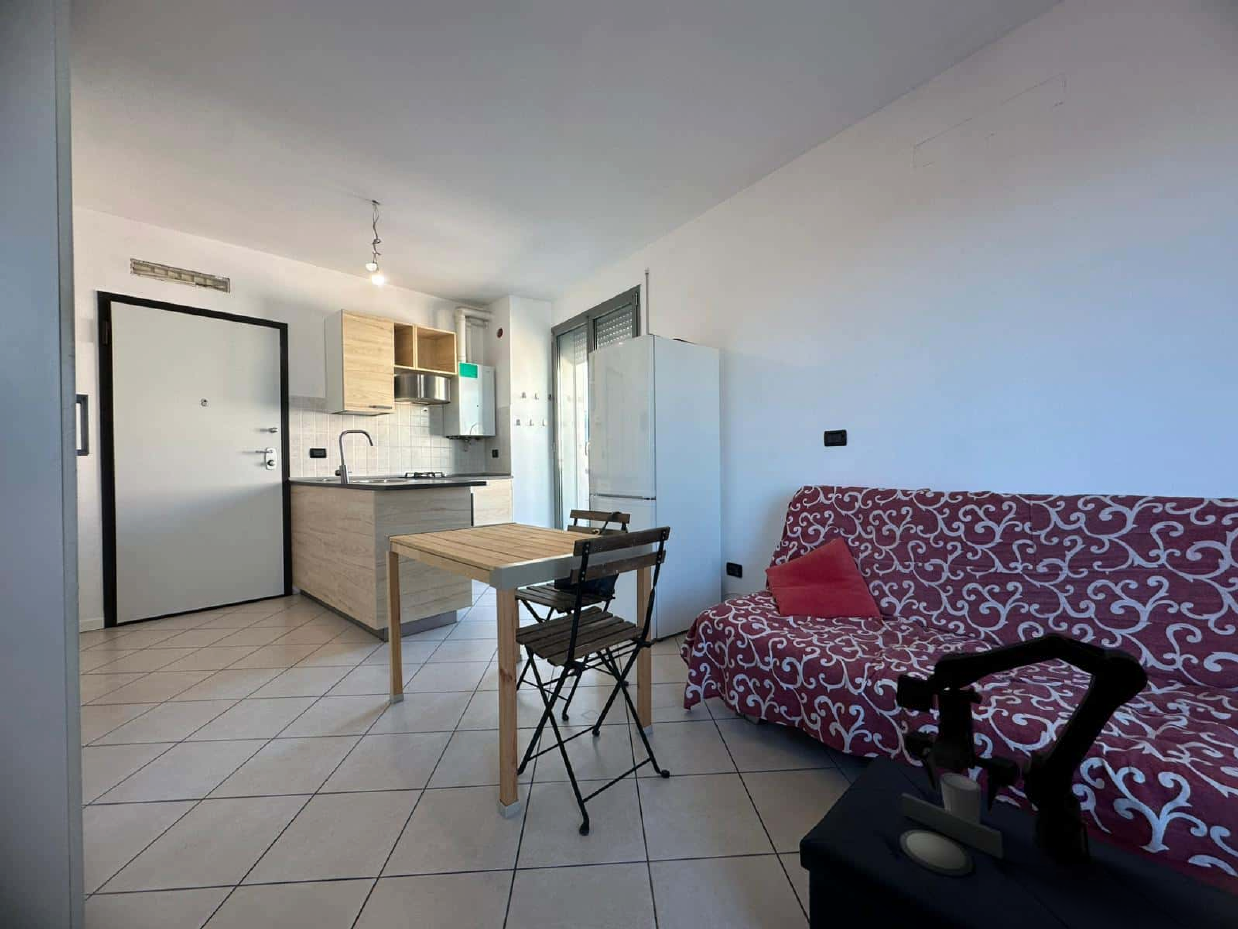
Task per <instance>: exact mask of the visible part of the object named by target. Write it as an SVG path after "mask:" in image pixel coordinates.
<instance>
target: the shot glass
mask: <svg viewBox="0 0 1238 929" xmlns="http://www.w3.org/2000/svg"><path fill="white" fill-rule="evenodd" d="M939 783H940V786H941V792H942V799H943V804H944V805H943V806H944V809H945V810H948V811H950V812H952V813H955V814H957V815H960V816H962V817H965V818H967V819H970V820H972V821H974V822H977V823H979V824H981V801H982V800H981V799H982V798H981V797H982V794H981V793H982V787H981V785H980V784H979V782H976V780H974V779H972V778H970V777H967V776H965V775H962V774H957V773H954V772H953V773H952V772H949V773H948V772H947V773H943V774H941V775H940V776H939Z"/></svg>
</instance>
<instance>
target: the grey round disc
mask: <svg viewBox="0 0 1238 929" xmlns="http://www.w3.org/2000/svg"><path fill="white" fill-rule="evenodd" d="M899 840H900V841H899V842H900V847H901V848H902V850H903V852H904V853H905V854H906V855H907V857H909V858H910V859H911V860H912V861H913V862H914V863H916V864H917V865H919V866H921V867H923V868H924V869H927V870H929V871H932V872H934V873H937V874H940V873H941V874H940V875H944V876H949V877H962V876H966V875H968V874H970V873H971V872H972V871H973V869H974V862H973V859H972V857H971V855H970V854H969V853H968V851H967V850H966V849H965V848H964V847H963V846H961V845H960V844H959V843H957V842H956V841H954V840H953V839H950V838H948V837H946V836H944V835H942V834H939V833H936V832H932V831H929V830H920V829H914V830H913V829H912V830H908V831H905V832H903V833H902V834H901V836H900V839H899Z"/></svg>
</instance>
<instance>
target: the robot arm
mask: <svg viewBox="0 0 1238 929" xmlns="http://www.w3.org/2000/svg"><path fill="white" fill-rule="evenodd" d="M1056 659H1057V660H1060V661H1062V662H1065V663H1067V664H1069V665H1071V666H1074V667H1075V668H1077V669H1079V670H1081V671H1083V672H1085V673H1086V674H1087V673H1088V674H1090V679H1089V683H1088V687H1087V689H1086V692H1085V694H1084V695H1083V697H1082V698H1081V699H1080V701H1079V703H1078V705H1077V706H1076V708H1075V709H1074V710H1073V712H1072V714H1071V715H1070V717H1069V719H1068V720H1067V722H1066V723H1065V725H1064V727H1062V729H1061V731H1060V732H1059V734H1058V735H1057V737H1056V739H1055V740H1054V741H1053V743H1052V745H1051V746H1050V748H1049V750H1046V752H1044V753H1042V754H1039V753H1038V752H1037V751H1036V750H1035V749H1032V750H1031V752H1030V756H1029V758H1028V760H1027V761H1025V762H1024V763H1022V767H1021V768H1020V765H1019V764H1018V763H1017V762H1016V760H1013V759H1011V758H1007V757H1003V756H1000V755H998V754H997V755H996V754H993V755H992V756H991V758H986V757H983V756H980V755H978V754H977V753H976V752H977V744H975V733H974V731H975V730H976V728H975V724H974V723H973V708H972V704H976V705H981V704H982V701H983V696H982V695H981V694H980V693H979V692H977V691H976V690H975V688H974V687H973V686H970V687H969V688H968V689H963V688H965V687H967V686H969V685H971V684H972V685H973V684H974V683H976V682H978V681H980V680H981V679H983V678H985V677H988V676H989V675H992V674H997V673H1000V672H1006V671H1009V670H1014V669H1018V668H1021V667H1027V666H1031V665H1034V664H1039V663H1044V662H1048V661H1053V660H1056ZM1148 682H1149V677H1148V674H1147V673H1146V672H1145V670H1144V667H1143V666H1142V664H1141V663H1140V661H1139V660H1138V659H1137V658H1136V657H1135V656H1134V655H1133V654H1131V653H1129V652H1128V651H1124V650H1122V649H1116V648H1115V649H1114V648H1111V649H1110V648H1109V649H1108V648H1107V649H1106V648H1103V647H1101V646H1098V645H1095V644H1092V643H1089V642H1085V641H1081V640H1078V639H1075V638H1071V637H1069V636H1066V635H1064V634H1062V633H1059V632H1055V631H1053V632H1047V633H1045V634H1044V635H1042V636H1037V637H1034V638H1029V639H1026V640H1022V641H1021V640H1020V641H1018V642H1015V643H1011V644H1006V645H1003V646H998V647H995V648H990V649H986V650H983V651H977V652H976V651H974V652H972V651H970V652H969V651H965V652H964V651H960V652H951V653H950V652H949V653H945V654H942V655H941V656H940V657H939V658H938V660H937V662H936V663H935V665H934V666H933V673H932V674H930V675H929V676H928V677H927V679H926V678H925V679H924V678H918V677H914V676H911V675H910V676H909V675H907V674H903V673H900V674H899V675H898V676H897V684H896V692H895V702H896V705H897V707H898V708H903V709H907V710H911V711H915V712H919V713H924V714H927V715H928V714H930V713H931V710H933V711H935V710H936V706H938V708H937V709H938V719H939V724H938V725H937V735H936V737H935V739H934V737H933V736H932V734H930V733H926V732H923V731H919V730H917V729H913V730H910V732H909V733H908V734H907V735H905V736H904V737H903V749H904V750H905V751H907V752H909V753H910V754H911V755H912V757H914V758H916V759H917V760H918V761H919V762H920V763H921V765H922V766H923V768H924V770H925V773H926V775H927V777H928V779H929V781H930V784H931V787H932V788H933V791H938V789H939V787H938V786H939V779H938V778H939V777H938V768H940V769H942V768H943V769H946V770H948V771H951V773H952V772H953V774H959V775H961V774H962V773H963V772H964V770H968V769H970V770H972V771H973V770H975V769H976V767H978V768H981V769H983V770H986V771H987V773H986V774H987V776H988V777H987V779H986V785H987V799H986V803H987V804H986V805H987V811H988V812H990V813H991V812H992V810H993V808H994V805H995V802H996V799H997V796H998V794H999V790H1000V789H1001V788H1003V789H1005V788H1008V787H1015V786H1016V785H1017V783H1018V781H1019V780H1020V779H1021V780H1022V781H1023V783H1022V784H1023V785H1022V787H1023V793H1024V795H1025V798H1026V799H1027V800H1028V801H1029V803H1030V804H1032V805H1033V806H1034V807H1035V808H1037V810H1035V813H1036V814H1035V815H1036V816H1035V817H1036V819H1035V820H1034V827H1035V828H1034V830H1035V836H1032V837H1031V839H1032V841H1033V842H1034V843H1035V844H1036V845H1037V846H1038V847H1039V848H1041V849H1042V851H1044V852H1045V854H1047V855H1048V856H1050V857H1051V859H1053V860H1054V861H1055V862H1056V863H1058V864H1059V865H1062V866H1080V867H1081V866H1082V867H1094V868H1095V867H1099V863H1098V861H1096V860H1095V859H1094V858H1093V857H1091V854H1090V844H1089V832H1088V823H1087V822H1085V820H1084V817H1083V812H1082V811H1083V810H1082V803H1081V800H1080V799H1079V798H1078V797H1077V796H1075V794H1074V793H1073V792H1071V788H1072V783H1073V778H1074V774H1075V772H1076V770H1077V769H1078V767H1079V766H1080V764H1081V763H1082V761H1083V759H1084V758H1085V756H1086V755H1087V753H1088V752H1089V751H1090V749H1091V747H1092V746H1093V744H1094V743H1095V742H1096V740H1097V738H1098V737H1099V735H1100V734H1101V732H1102V731H1103V730H1104V728H1105V726H1106V725H1107V723H1108V722H1109V721H1110V718H1112V716H1113V714H1114V713H1115V711H1116V710H1118V709H1119V708H1120V707H1123V706H1124V705H1125V704H1127V703H1128V702H1130V701H1132V700H1133V699H1134V698H1135V697H1136V696H1137V695H1138V694H1140V692H1142V691H1143V690H1144V689H1145V688H1146V687H1147V684H1148ZM947 688H948V689H947ZM936 696H937V697H936ZM936 698H937V699H936ZM937 767H938V768H937Z"/></svg>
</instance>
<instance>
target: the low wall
mask: <svg viewBox="0 0 1238 929" xmlns="http://www.w3.org/2000/svg"><path fill="white" fill-rule="evenodd" d="M901 806H902V807H901V808H902V816H903V815H906V816H908V817H910V818H912V819H914V820H916V821H919V822H921V823H923V824H924V825H923V824H922V825H923V826H925V825H928V826H929V827H928V826H927V827H928V828H930V827H932V828H935V829H936V830H935V831H937V830H938V831H937V832H939V833H941V832H942V833H941V834H943V833H944V834H943V835H946V836H949V837H950V838H952V839H955V840H957V841H959V842H962V843H964V844H965V845H969V847H970V846H971V847H972V848H975V849H977V850H980V851H982V852H984V853H986V854H988V855H991V856H993V857H995V858H997V859H999V860H1002V859H1003V857H1004V853H1003V852H1004V850H1003V842H1002V832H1001V831H999V830H997V829H993V828H991V827H989V826H986V825H985V824H981V823H980V824H979V823H977V822H974V821H972V820H970V819H967V818H965V817H962V816H960V815H957V814H955V813H952V812H950V811H948V810H945V808H943V807H940V806H937V805H935V804H933V803H930V802H928V801H925V800H923V799H921V798H918V797H915V796H913V795H911V794H908V793H906V792H903V793H902V794H901ZM912 819H911V820H912ZM914 820H913V821H914ZM916 821H915V822H916ZM919 822H918V823H919ZM921 823H920V824H921ZM932 828H931V829H932Z"/></svg>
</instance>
